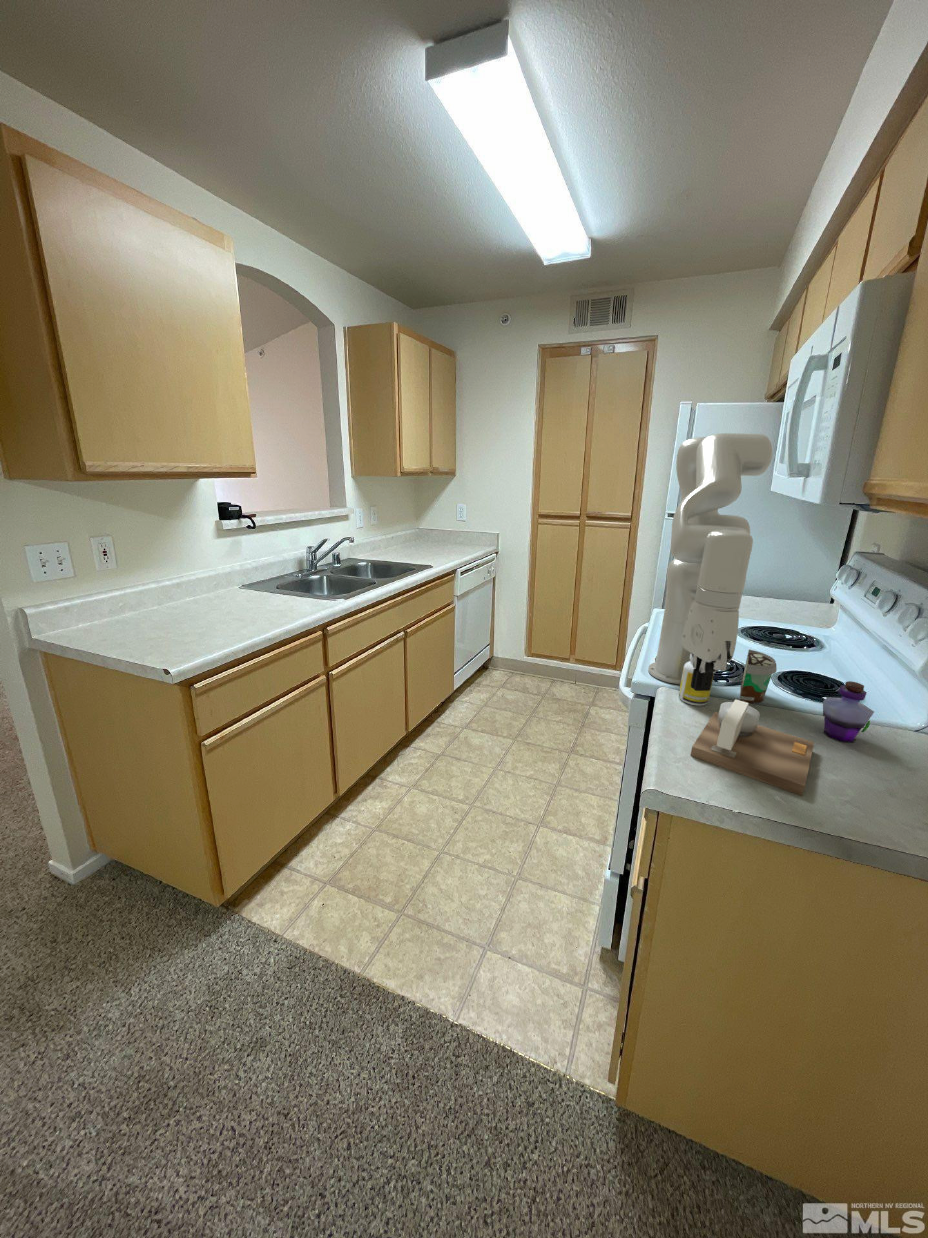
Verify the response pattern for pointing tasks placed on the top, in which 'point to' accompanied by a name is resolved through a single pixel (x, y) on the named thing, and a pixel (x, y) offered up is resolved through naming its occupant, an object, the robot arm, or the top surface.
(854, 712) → the potion bottle
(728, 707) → the white bar with knob
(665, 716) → the top surface
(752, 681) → the food container
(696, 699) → the pill bottle
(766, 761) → the post base
